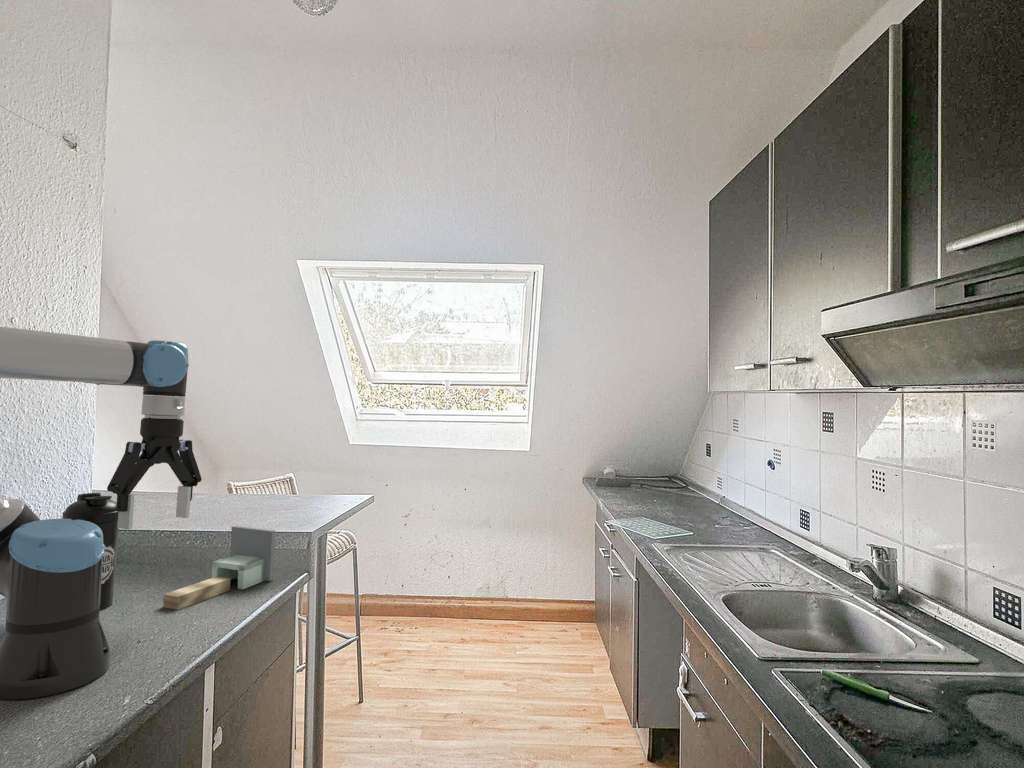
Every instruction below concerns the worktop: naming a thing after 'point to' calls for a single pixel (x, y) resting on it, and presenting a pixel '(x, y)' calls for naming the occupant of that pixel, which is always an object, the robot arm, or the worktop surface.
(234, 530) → the end cap
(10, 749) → the worktop surface
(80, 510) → the water bottle
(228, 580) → the slat
